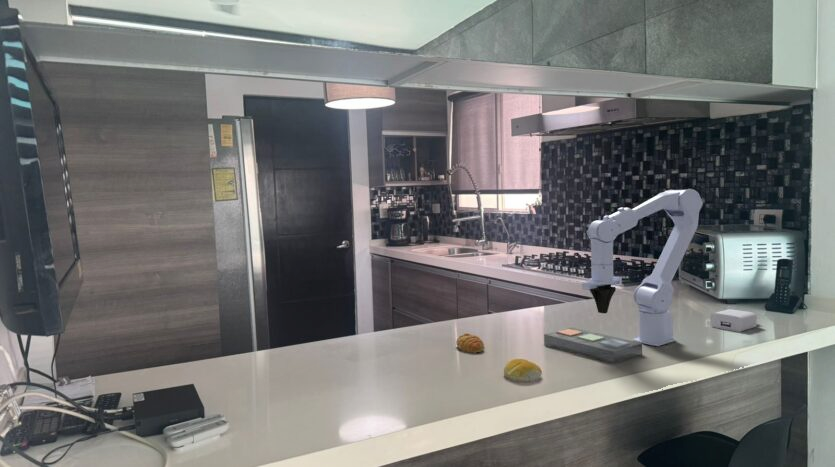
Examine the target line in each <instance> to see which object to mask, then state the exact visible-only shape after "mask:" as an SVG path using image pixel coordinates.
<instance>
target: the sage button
mask: <svg viewBox="0 0 835 467" xmlns="http://www.w3.org/2000/svg"><path fill="white" fill-rule="evenodd" d="M578 339H581V340H585V341H589V342H596V341H600V340H604V339H605V337H602V336H597V335H593V334H587V335H583V336H579V337H578Z"/></svg>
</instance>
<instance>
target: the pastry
mask: <svg viewBox="0 0 835 467" xmlns="http://www.w3.org/2000/svg"><path fill="white" fill-rule="evenodd" d="M455 343H456V346H457V348H458V349H459V350H461V351H463V352H467V353H469V352H470V353H473V354H475V353H478V352H483V351H484V350H485V346H484V342H483V340H482V339H481V338H480V337H479V336H477V335H472V334H471V333H463V334H461V335H459V336H458V337H457V340H456V342H455Z"/></svg>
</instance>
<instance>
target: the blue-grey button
mask: <svg viewBox="0 0 835 467" xmlns="http://www.w3.org/2000/svg"><path fill="white" fill-rule="evenodd" d="M600 344H602V345H606V346H610V347H614V348H620V347H623V346H627V345H629V343H628V342H623V341H619V340H615V339H611V340H607V341H603V342H600Z"/></svg>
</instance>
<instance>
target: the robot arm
mask: <svg viewBox="0 0 835 467" xmlns="http://www.w3.org/2000/svg"><path fill="white" fill-rule="evenodd" d="M703 204H704V203H703V200H702V198H701V195H700V194H699V192H698V191H697V190H695V189H692V188H688V189H668V190H665V191H664V192H659V193H658V194H656V195H655V196H653V197H651V198H649V199H648V200H646V201H644V202H642V203H641V204H639V205H638V206H636V207H634V208H630V207H619V208H617V211H616V212H614V213H612V214H610V215H607V214H605V215H604V216H603V217H602V220H601V219H600V220H599V219H598V220H593V221H592V222H591V223H590V225H589V226H588V229H587V230H586V234H587V237H588V239H589V240H590V250H591V252H590V257H591V258H590V262H591V263H590V264H591V265H590V266H591V275H590V276H591V278H588V280H586V281H583V282H581V287H582V290H583V291H584V290H585V291H589V292H590V294H591V295H592V298H593V300H594V302H595V305H596V306H595V307H596V308H597V312H598V313H599V314H608V311H609V307H610V303H611V300H612V298H613V295H614V294H615V293H616V287H615V285H622V284H623V280H622V279H623V278H622V276H614V240H615V239H616V238H617V236H618V235H620V234H622V233H625V232H626V231H628V230H630V229H632V228H634V227H636V226H637V225H638V222H639V220H640V219H643V218H644V217H645V218H646V217H648V216H650V215H652V214H655V213H657V212H658V211H661V210H664V211H665V212H666V214H667V215H668V216H669V218H670V219H671V220H672V221H673V223H674V226H673V228H672V230H671V233H670V235H669V237H668V239H667V241H666V243H665V245H664V246H663V249H662V252H661V254H660V255H659V257H658V260H657V262H656V264H655V266H654V268H653V270H652V273H651V274H649V275H648V276H646V277H644V278H643V280H642V281H641V283H640V285H639V286H637V287H636V288H635V289H634V292H633V295H632V297H633V301H634V303H636V305H637V309H638V337H635V338H632V339H631V341H635V342H639V343H642V344H645V345H650V346H653V347H654V346H655V347H659V346H662V345H666V344H670V343H672V342H675V341H677V339H676V338H674V317H673V314H672V313H671V311H670V310H669V309H670V307H671V306H672V302H673V294H674V292H675V288H674V286H673V284H672V281H673V279H674V277H675V274H676V272H677V270H678V269H679V267H680V264H681V262H682V261H683V258H684V257H685V254H686V252H687V250H688V248H689V246H690V243H691V242H692V240H693V238H694V235H695V234H696V231H697V229H698V226H699V218H700V217H699V215H700V211H701V209H702V207H703Z"/></svg>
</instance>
